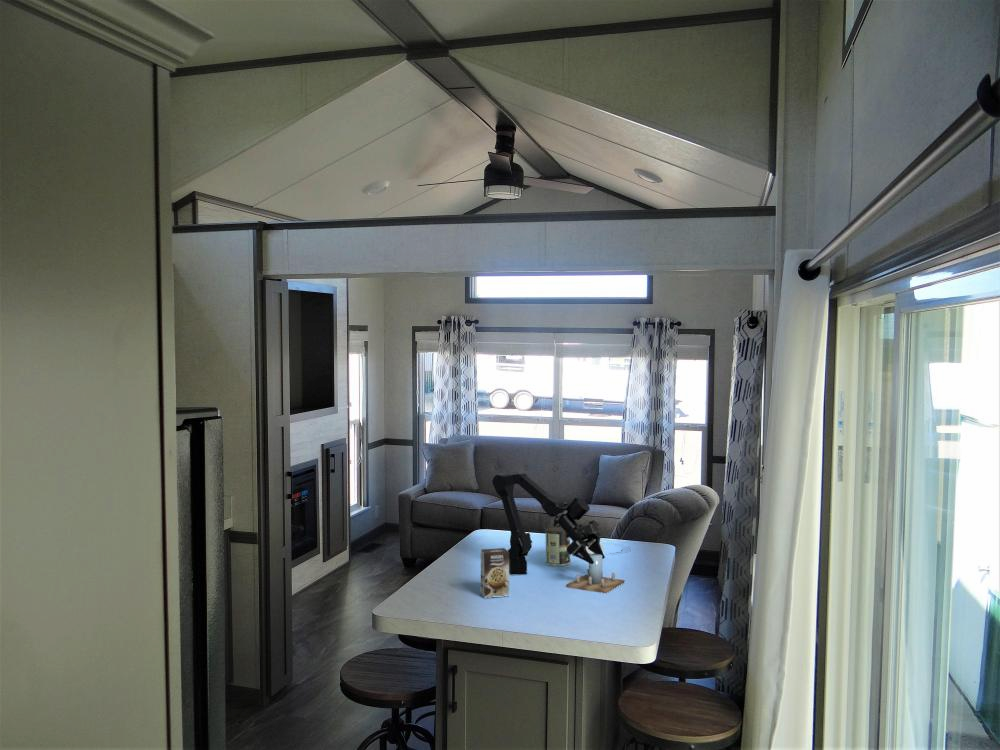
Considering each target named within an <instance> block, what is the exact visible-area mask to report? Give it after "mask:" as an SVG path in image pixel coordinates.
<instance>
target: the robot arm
mask: <svg viewBox="0 0 1000 750" xmlns="http://www.w3.org/2000/svg"><path fill="white" fill-rule="evenodd" d="M491 483H492V486H493V488H494V491H495V493H496V494H497V495H498V496H499V498H500V499H501V502H502V503H501V504H502V506H503V510H504V512H505V516H506V520H507V524H508V527H509V531H510V537H509V545H510V547H509V549H507V550H508V551H509V575H511V574H518V575H527V574H528V561H527V560H526V557H527V556H528V555H529V552H530V551H531V549H532V544H533V541H532V539H531V533H530V532H525V530H524V529H523V526H522V522H521V519H520V516H519V511H518V508H517V505H516V502H515V497H514V488H515V485H519V487H521V488H522V489H523V490H524V491H526V493H528V494H529V495H530V496H532V498H534V500H536V501H537V502H538V503H539V504H540V505H541V508H542V509H543V511H544V512H545V514H547V515H548V517H550V518H551V517H552V518H553V517H557V518H554V519H553V526H552V527H562V529H563V530H564V531H565V532H566V534H567V535H566V537H567V538H569V537H570V541H571V542H570V545H569V546H568V547H567V552H568V554H569V555H570V556H571V555H572V557H576V558H578V559H581V560H582V561H585V562H587V563H588V564H589V563H590V564H593V563H594V561H593V559H592V558H591V556H590V555H589V553H588V552H587V550H586V546H587V547H588V549H589V550H590V551H592V552H593V553H595V554H601V555H602V560H604V559H605V556H606V555H604V554H603V551H602V549H601V546H600V544H601V542H600V541H601V539H602V538H601V537H602V535H601V533H600V532H599V531H600V529H599V526H600V524H599V523H598V522H597V521H595V520H594V519H593V520H591V521H588V525H587V524H586V525H583V524H581V523H580V524H579V523H578V522H577V521H580V520H582V518H583V517H584V516H585V515H586V514H587V513H589V511H590V505H589V504H588V503H587V502H586V501H585V500H584V499H582V498H581V499H580V497H579V496H576V497H575V498H573V500H572V502H570V503H565V502H564V501H563V500H562V499H560V498H559V497H557V496H555V495H551V494H549V493H548V492H547V491H545V490H544V489H543V488H542V487H541V486H540V485H539V484H538V483H536V482H535V481H534V480H532V478H530V477H529V476H528V475H527V474H526V473H524V472H520V473H514V474H510V473H509V472H508V473H507V472H504V473H500V474H496V475H494V477H493V478H492V482H491ZM564 513H565V514H564ZM558 516H559V517H558ZM576 520H577V521H576Z"/></svg>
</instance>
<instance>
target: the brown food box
mask: <svg viewBox="0 0 1000 750" xmlns="http://www.w3.org/2000/svg"><path fill="white" fill-rule="evenodd" d="M508 550H509V549H506V548H505V547H503V548H502V547H501V548H487V549H485V548H484V549H483V548H482V549H480V594H481V593H482V595H483V596H484V597H493V596H504V595H509V596H510V573H509V551H508ZM482 595H481V596H482ZM483 596H482V597H483ZM484 597H483V598H484Z"/></svg>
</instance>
